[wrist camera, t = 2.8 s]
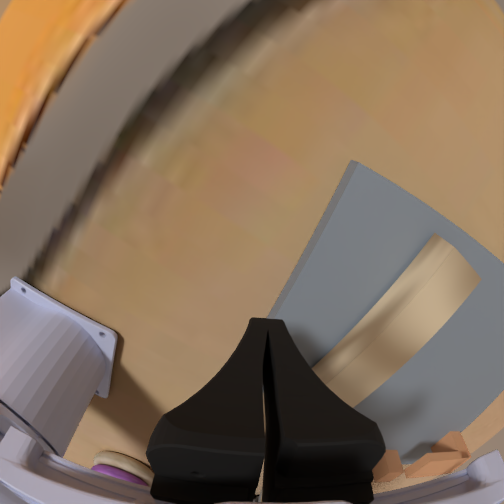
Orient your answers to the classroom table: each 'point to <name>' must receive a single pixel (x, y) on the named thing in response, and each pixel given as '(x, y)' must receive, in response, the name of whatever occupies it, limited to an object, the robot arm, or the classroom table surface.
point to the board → (372, 290)
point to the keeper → (425, 460)
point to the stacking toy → (123, 468)
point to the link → (398, 322)
